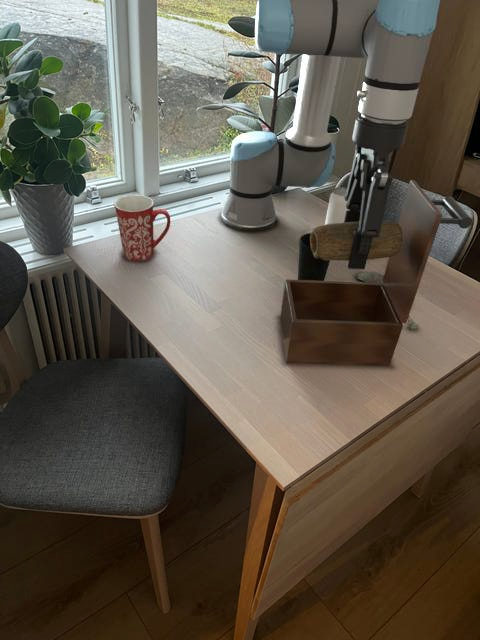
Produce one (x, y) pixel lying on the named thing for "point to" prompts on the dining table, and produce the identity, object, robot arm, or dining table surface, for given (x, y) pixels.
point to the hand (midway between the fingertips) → (351, 255)
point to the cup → (310, 262)
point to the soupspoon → (378, 278)
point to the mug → (138, 226)
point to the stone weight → (339, 238)
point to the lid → (417, 244)
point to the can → (336, 206)
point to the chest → (338, 323)
